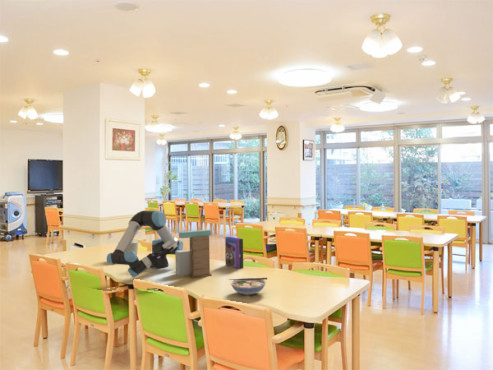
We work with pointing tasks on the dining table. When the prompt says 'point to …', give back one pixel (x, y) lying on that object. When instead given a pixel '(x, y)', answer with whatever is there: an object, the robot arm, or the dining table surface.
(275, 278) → the dining table surface
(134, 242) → the canister
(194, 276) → the pedestal
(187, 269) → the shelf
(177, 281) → the dining table surface
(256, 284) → the ramen bowl
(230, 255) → the cereal box
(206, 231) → the mint green bar
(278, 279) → the dining table surface
